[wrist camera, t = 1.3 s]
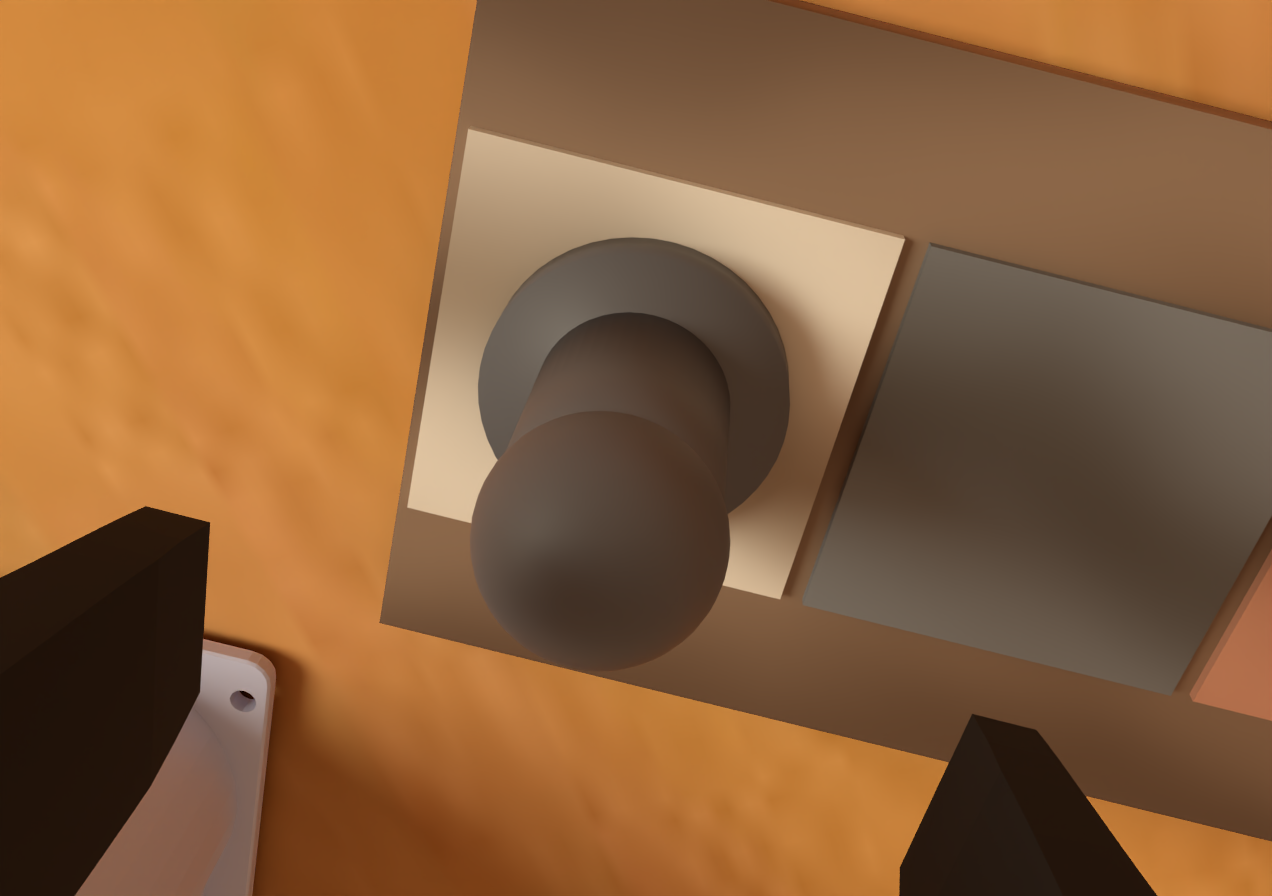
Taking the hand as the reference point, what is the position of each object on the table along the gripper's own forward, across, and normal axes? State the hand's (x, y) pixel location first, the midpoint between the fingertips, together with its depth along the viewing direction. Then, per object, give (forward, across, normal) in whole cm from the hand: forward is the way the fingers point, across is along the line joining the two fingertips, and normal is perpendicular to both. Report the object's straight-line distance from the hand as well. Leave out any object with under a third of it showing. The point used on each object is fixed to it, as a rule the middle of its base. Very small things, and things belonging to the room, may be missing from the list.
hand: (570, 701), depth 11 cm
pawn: (+9, 0, +1) cm, 9 cm away
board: (+10, -10, +1) cm, 14 cm away
